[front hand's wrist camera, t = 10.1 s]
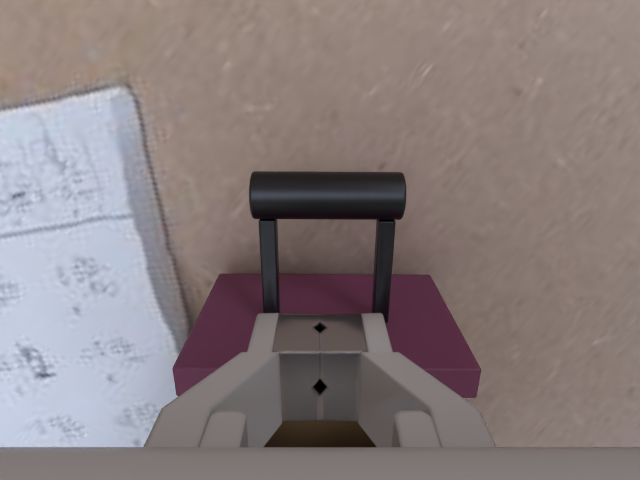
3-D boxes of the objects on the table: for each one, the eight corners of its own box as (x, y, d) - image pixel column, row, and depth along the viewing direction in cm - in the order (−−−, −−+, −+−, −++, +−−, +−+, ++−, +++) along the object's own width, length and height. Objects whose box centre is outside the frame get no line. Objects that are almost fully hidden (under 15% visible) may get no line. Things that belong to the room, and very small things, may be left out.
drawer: (208, 151, 18) (145, 195, 12) (444, 152, 18) (512, 196, 12) (243, 540, 27) (219, 688, 21) (400, 541, 27) (426, 689, 21)
